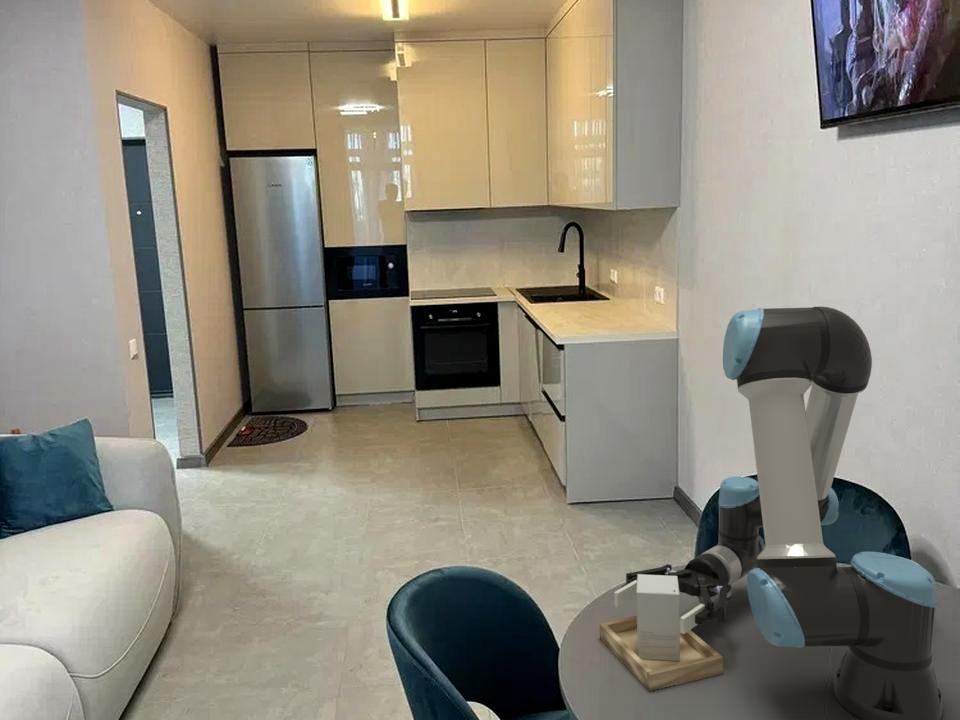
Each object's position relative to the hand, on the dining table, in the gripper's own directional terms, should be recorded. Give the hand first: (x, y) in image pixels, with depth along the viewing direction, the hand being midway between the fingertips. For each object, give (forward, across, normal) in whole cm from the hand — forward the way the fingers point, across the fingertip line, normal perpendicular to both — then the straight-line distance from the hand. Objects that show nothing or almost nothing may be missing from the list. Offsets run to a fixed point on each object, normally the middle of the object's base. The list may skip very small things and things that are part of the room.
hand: (647, 612), depth 136 cm
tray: (-3, 0, -10) cm, 10 cm away
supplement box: (-3, 0, -9) cm, 9 cm away
